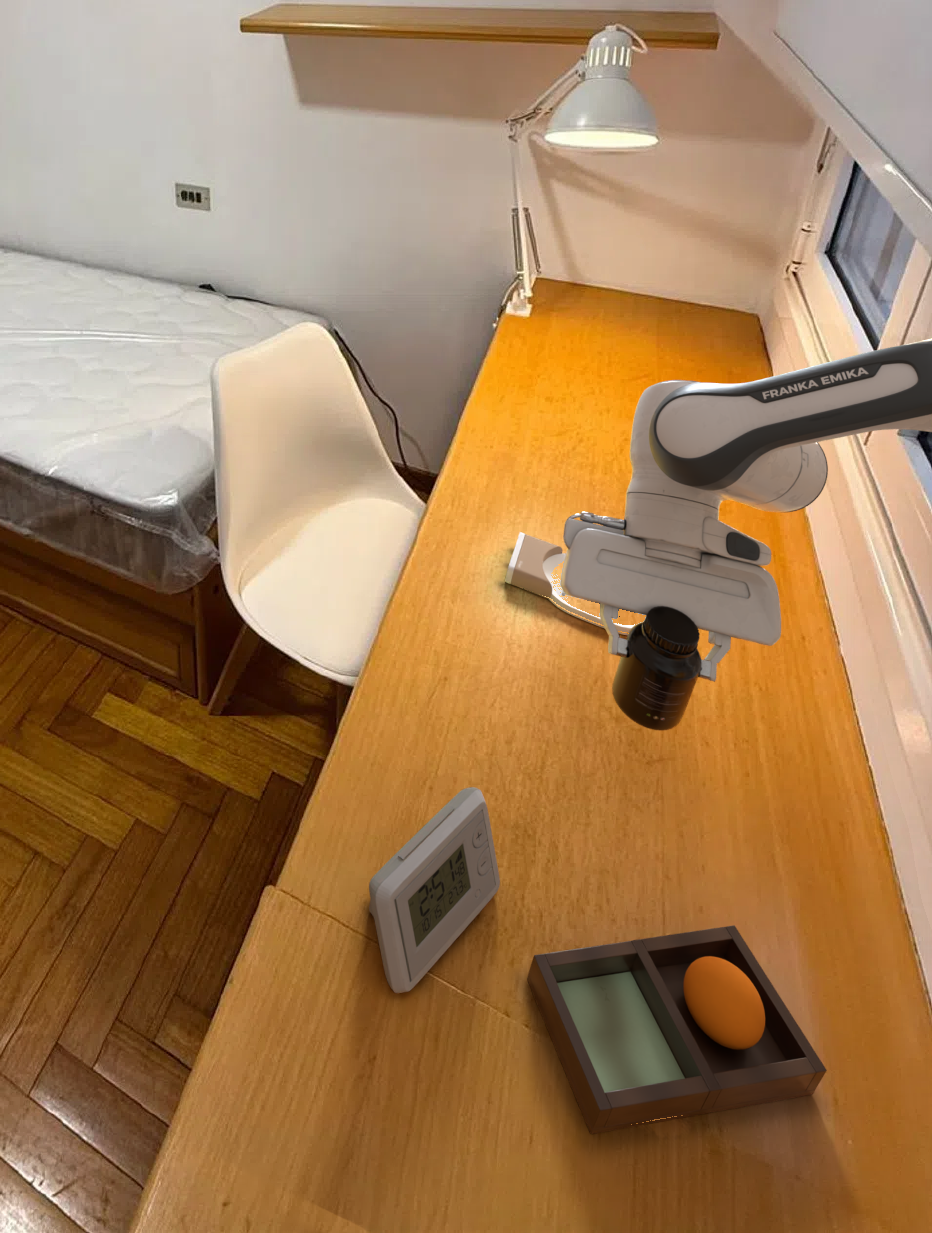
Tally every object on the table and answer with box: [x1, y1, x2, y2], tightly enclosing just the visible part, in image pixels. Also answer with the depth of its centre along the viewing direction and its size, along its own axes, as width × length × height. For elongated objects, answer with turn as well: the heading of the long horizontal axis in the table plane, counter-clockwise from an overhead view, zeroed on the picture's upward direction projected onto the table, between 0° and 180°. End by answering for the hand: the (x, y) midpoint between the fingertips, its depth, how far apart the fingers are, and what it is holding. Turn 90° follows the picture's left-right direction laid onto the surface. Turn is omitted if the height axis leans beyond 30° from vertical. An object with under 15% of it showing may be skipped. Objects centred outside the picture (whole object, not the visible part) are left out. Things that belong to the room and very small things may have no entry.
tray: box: [526, 925, 828, 1135], centre depth 71 cm, size 20×10×4 cm, turn 97°
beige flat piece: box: [504, 531, 635, 636], centre depth 118 cm, size 12×3×20 cm
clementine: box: [683, 956, 765, 1050], centre depth 71 cm, size 6×6×6 cm
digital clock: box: [368, 786, 501, 994], centre depth 78 cm, size 16×9×11 cm, turn 116°
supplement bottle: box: [611, 606, 702, 732], centre depth 85 cm, size 7×7×12 cm
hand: (660, 667), depth 84 cm, fingers closed on supplement bottle, 7 cm apart
